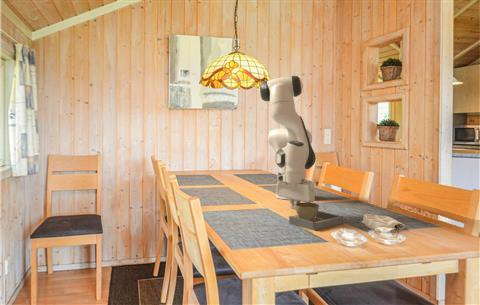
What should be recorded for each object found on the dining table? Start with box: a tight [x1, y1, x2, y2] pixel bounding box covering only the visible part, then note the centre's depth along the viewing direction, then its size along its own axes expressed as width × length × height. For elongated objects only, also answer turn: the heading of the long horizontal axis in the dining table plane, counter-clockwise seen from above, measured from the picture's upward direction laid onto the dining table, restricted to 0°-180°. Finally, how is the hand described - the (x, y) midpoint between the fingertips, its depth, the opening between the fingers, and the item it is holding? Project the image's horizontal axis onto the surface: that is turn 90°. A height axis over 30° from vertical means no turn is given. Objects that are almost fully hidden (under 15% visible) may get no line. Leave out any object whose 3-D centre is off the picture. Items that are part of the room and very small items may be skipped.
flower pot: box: [295, 201, 320, 222], centre depth 165 cm, size 10×10×7 cm
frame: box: [288, 210, 344, 231], centre depth 162 cm, size 18×14×3 cm
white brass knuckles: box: [360, 213, 406, 231], centre depth 158 cm, size 3×18×15 cm
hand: (294, 209), depth 171 cm, fingers closed
